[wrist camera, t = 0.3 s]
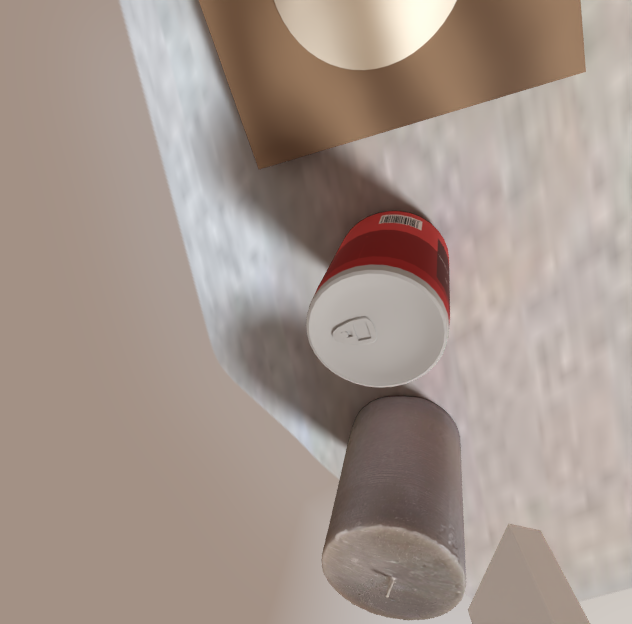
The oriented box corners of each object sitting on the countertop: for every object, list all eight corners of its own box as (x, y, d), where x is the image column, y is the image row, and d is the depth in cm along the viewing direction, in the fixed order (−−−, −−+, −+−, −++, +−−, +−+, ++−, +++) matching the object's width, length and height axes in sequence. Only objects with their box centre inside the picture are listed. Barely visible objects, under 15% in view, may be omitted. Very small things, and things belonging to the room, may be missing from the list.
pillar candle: (410, 490, 47) (399, 656, 34) (331, 433, 46) (288, 583, 33) (485, 437, 42) (504, 609, 29) (398, 372, 41) (378, 521, 28)
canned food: (321, 241, 37) (278, 309, 27) (415, 185, 33) (401, 241, 24) (375, 319, 39) (352, 407, 30) (468, 274, 35) (475, 358, 26)
